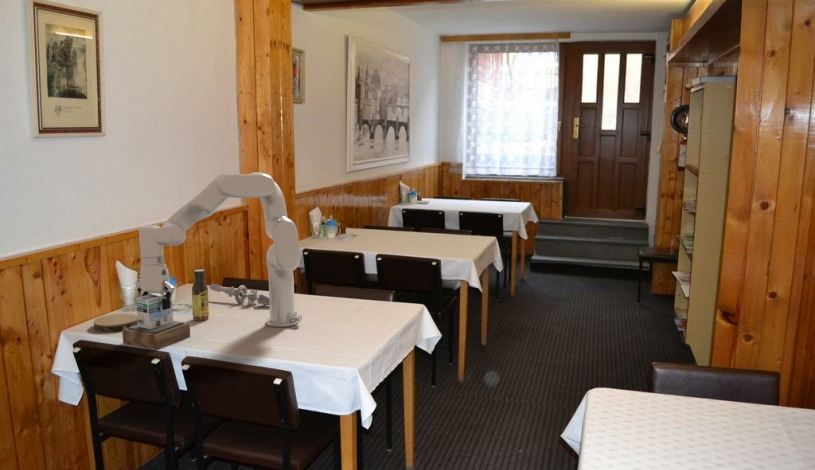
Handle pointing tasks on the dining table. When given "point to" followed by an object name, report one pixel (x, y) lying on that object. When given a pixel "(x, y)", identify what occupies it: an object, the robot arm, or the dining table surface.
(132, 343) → the walnut base
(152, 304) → the light bulb box
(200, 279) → the sauce bottle
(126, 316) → the round wood slice
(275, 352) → the dining table surface
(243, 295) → the spaceship
